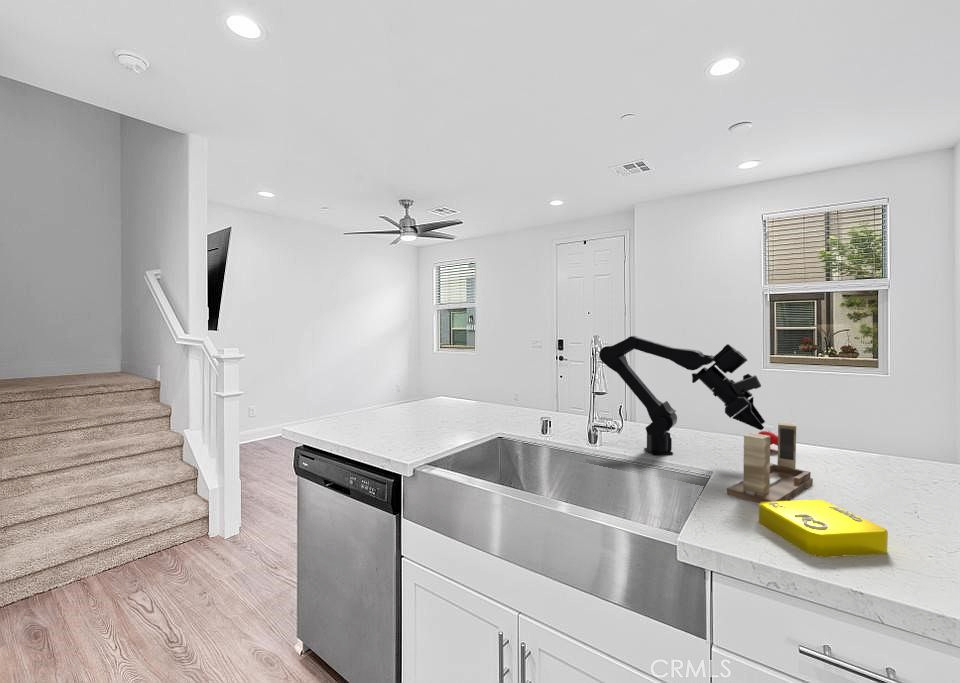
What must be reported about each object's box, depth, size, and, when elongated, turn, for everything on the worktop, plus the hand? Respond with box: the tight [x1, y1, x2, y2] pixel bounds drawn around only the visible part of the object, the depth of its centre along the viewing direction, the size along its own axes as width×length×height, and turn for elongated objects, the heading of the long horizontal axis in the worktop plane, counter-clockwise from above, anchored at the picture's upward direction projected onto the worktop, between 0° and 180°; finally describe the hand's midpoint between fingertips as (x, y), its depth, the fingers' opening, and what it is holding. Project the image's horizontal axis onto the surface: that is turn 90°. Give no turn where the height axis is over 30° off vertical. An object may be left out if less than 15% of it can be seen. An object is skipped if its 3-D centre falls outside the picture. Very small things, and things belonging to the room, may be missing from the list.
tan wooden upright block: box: [777, 421, 797, 469], centre depth 122 cm, size 5×4×13 cm
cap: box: [757, 430, 778, 447], centre depth 142 cm, size 8×6×6 cm
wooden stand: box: [726, 432, 814, 505], centre depth 109 cm, size 24×10×14 cm, turn 127°
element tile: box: [758, 499, 889, 558], centre depth 85 cm, size 15×15×5 cm
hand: (763, 425), depth 125 cm, fingers open, 9 cm apart
